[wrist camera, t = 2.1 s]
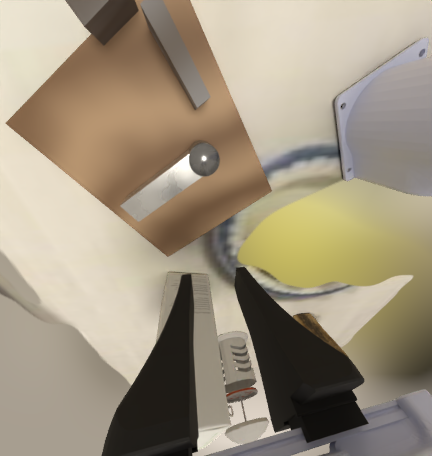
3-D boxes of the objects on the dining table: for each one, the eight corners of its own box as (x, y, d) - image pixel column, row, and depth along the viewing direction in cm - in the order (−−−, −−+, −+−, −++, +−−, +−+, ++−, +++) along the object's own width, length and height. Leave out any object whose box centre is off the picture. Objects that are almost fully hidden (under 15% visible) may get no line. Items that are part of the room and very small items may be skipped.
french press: (229, 352, 44) (271, 558, 23) (195, 347, 38) (209, 609, 18) (255, 335, 40) (331, 556, 20) (222, 326, 35) (278, 617, 14)
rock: (323, 337, 43) (345, 323, 37) (323, 375, 37) (350, 366, 31) (282, 316, 47) (296, 300, 40) (276, 347, 41) (292, 334, 34)
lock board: (268, 188, 19) (283, 199, 16) (168, 251, 21) (166, 271, 19) (167, -41, 10) (160, -111, 7) (12, 119, 12) (-41, 117, 9)
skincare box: (197, 304, 29) (208, 448, 16) (159, 304, 27) (137, 466, 14) (209, 272, 25) (237, 429, 12) (165, 269, 23) (143, 451, 10)
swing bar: (204, 134, 14) (208, 136, 12) (218, 158, 15) (225, 165, 13) (126, 193, 16) (116, 205, 13) (145, 211, 17) (139, 225, 14)
